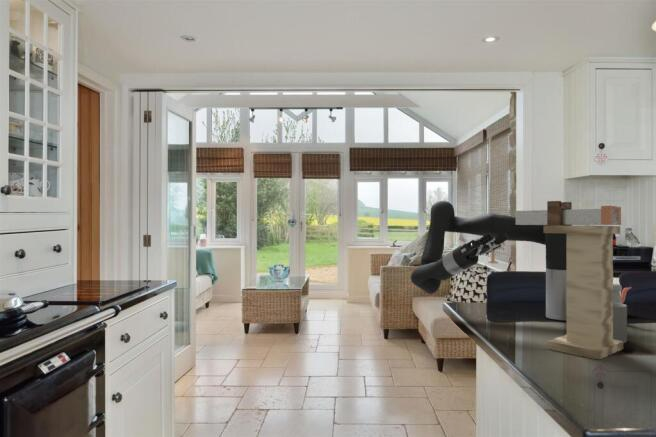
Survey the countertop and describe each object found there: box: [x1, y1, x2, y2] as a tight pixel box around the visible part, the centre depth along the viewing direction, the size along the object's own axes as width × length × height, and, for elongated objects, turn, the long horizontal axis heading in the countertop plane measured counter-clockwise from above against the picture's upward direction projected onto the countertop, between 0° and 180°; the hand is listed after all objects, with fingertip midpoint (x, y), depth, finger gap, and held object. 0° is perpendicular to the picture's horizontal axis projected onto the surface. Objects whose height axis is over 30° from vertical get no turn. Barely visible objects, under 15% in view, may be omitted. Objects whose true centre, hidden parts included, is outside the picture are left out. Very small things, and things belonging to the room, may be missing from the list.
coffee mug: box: [613, 302, 628, 344], centre depth 126 cm, size 13×10×10 cm
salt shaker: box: [613, 283, 623, 304], centre depth 147 cm, size 6×6×13 cm
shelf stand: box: [544, 200, 624, 361], centre depth 114 cm, size 16×14×39 cm
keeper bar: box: [515, 205, 622, 226], centre depth 118 cm, size 7×25×5 cm, turn 38°
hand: (499, 235), depth 133 cm, fingers open, 8 cm apart
